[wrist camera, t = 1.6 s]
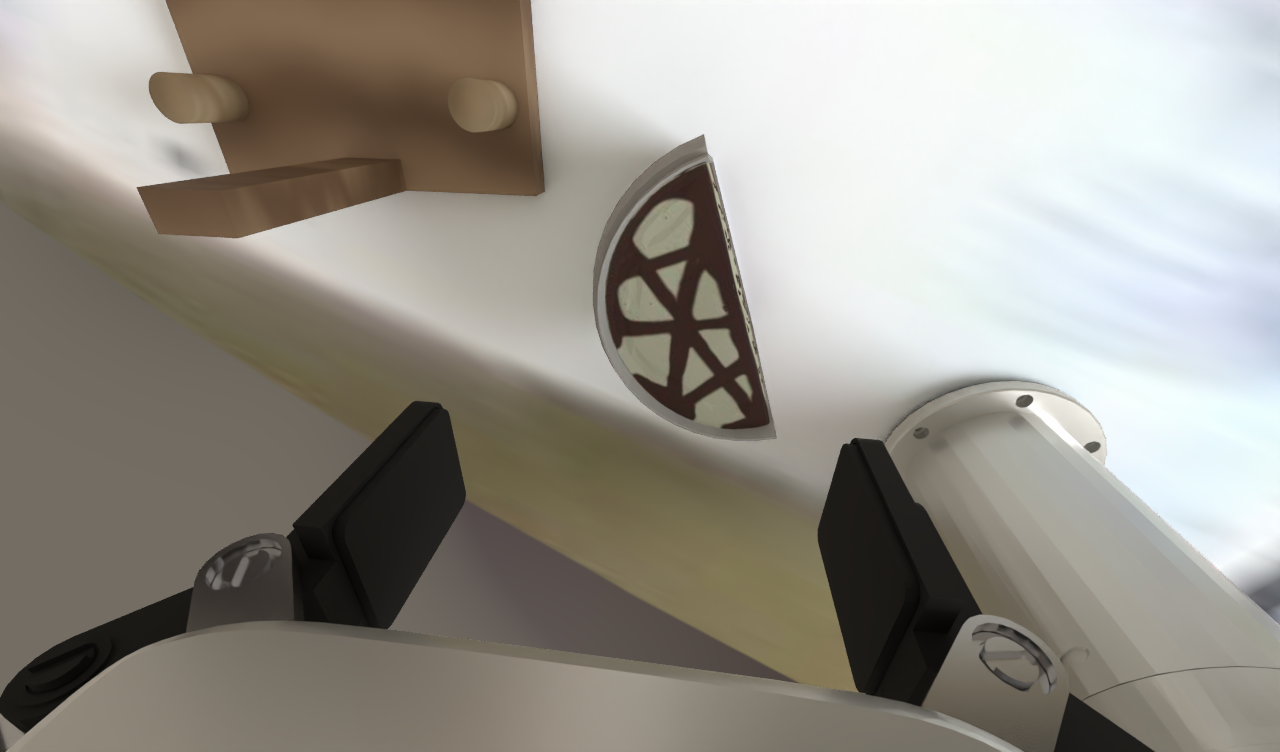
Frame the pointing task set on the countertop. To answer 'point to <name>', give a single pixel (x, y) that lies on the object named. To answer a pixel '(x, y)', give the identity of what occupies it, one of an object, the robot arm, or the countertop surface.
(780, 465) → the countertop surface
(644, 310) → the food container
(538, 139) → the peg stand
